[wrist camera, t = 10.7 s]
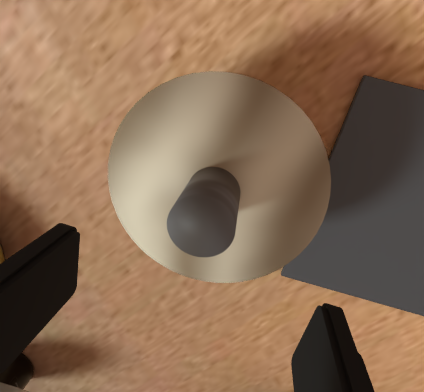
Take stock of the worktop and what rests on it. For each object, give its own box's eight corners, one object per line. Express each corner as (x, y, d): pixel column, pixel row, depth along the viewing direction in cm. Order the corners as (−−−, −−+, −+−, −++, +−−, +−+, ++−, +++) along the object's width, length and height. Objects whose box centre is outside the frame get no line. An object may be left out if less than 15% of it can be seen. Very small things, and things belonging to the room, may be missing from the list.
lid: (366, 105, 17) (419, 119, 12) (284, 295, 23) (293, 364, 18) (125, 45, 18) (66, 31, 12) (106, 245, 24) (61, 296, 18)
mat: (620, 141, 21) (627, 142, 21) (467, 325, 29) (470, 329, 28) (363, 75, 22) (365, 75, 21) (281, 272, 29) (281, 275, 29)
